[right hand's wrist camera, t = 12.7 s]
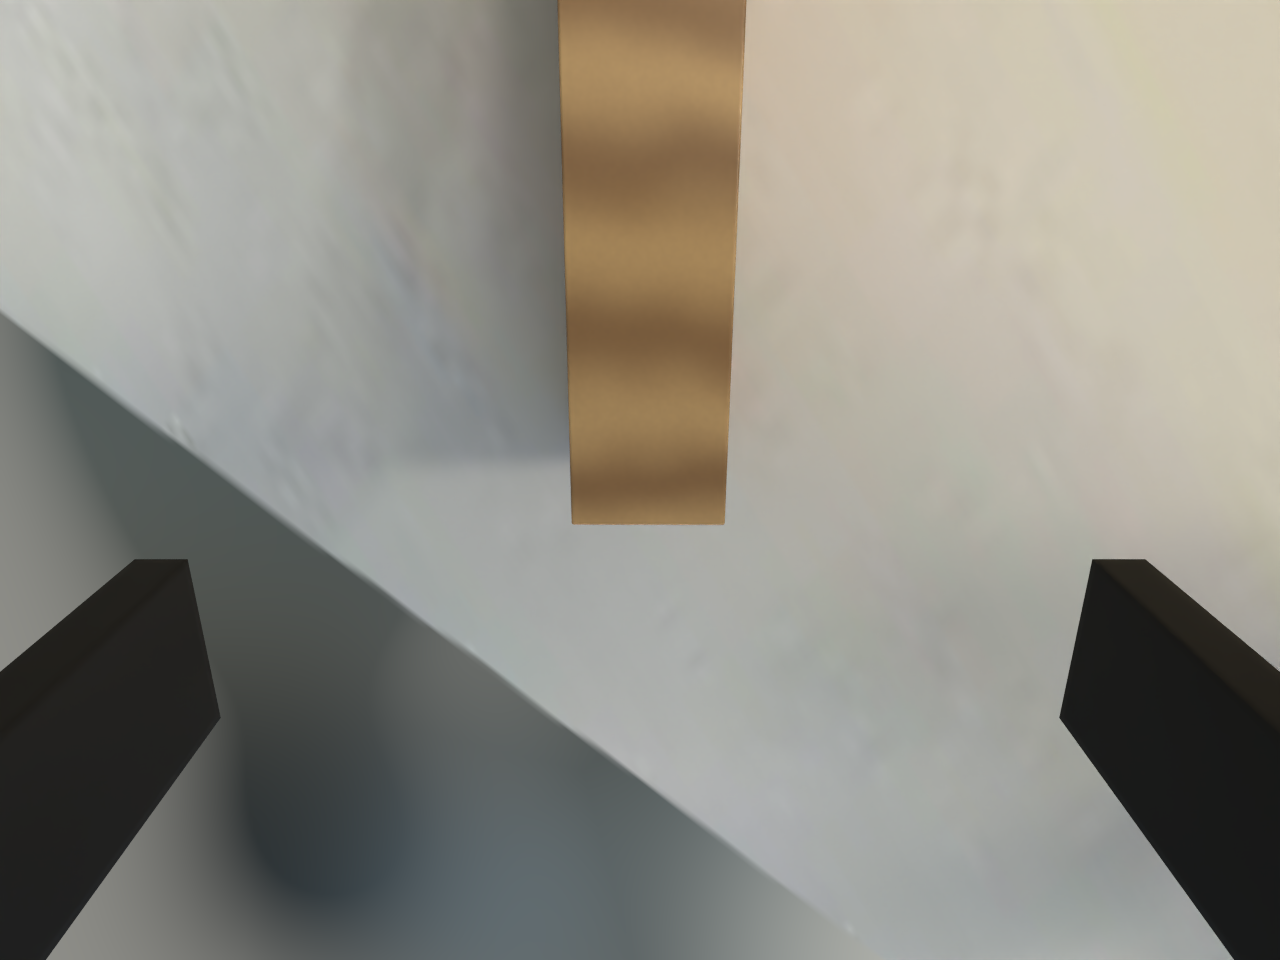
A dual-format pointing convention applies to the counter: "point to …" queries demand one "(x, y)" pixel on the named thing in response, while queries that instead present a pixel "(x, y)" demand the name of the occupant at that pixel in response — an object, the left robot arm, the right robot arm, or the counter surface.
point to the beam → (650, 253)
